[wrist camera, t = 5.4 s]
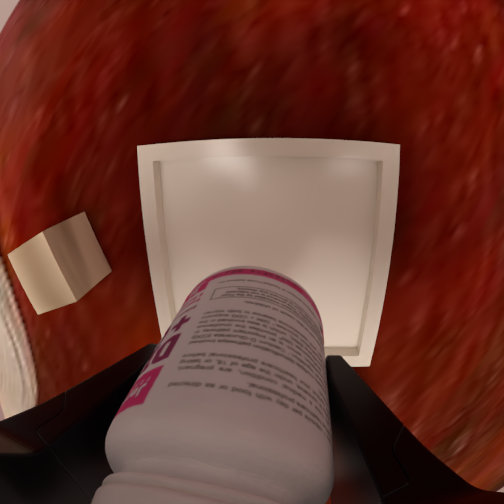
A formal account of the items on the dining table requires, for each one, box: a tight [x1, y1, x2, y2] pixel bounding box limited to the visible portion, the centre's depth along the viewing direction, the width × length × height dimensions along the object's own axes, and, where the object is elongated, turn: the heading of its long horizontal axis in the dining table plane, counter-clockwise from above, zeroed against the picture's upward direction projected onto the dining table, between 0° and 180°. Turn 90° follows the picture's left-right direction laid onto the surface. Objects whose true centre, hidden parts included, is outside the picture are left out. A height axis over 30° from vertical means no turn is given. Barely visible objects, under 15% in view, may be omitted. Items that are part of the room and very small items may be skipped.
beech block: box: [8, 212, 112, 315], centre depth 16 cm, size 4×4×4 cm
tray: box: [137, 138, 400, 367], centre depth 16 cm, size 12×12×1 cm
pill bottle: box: [91, 266, 334, 504], centre depth 7 cm, size 5×5×8 cm
